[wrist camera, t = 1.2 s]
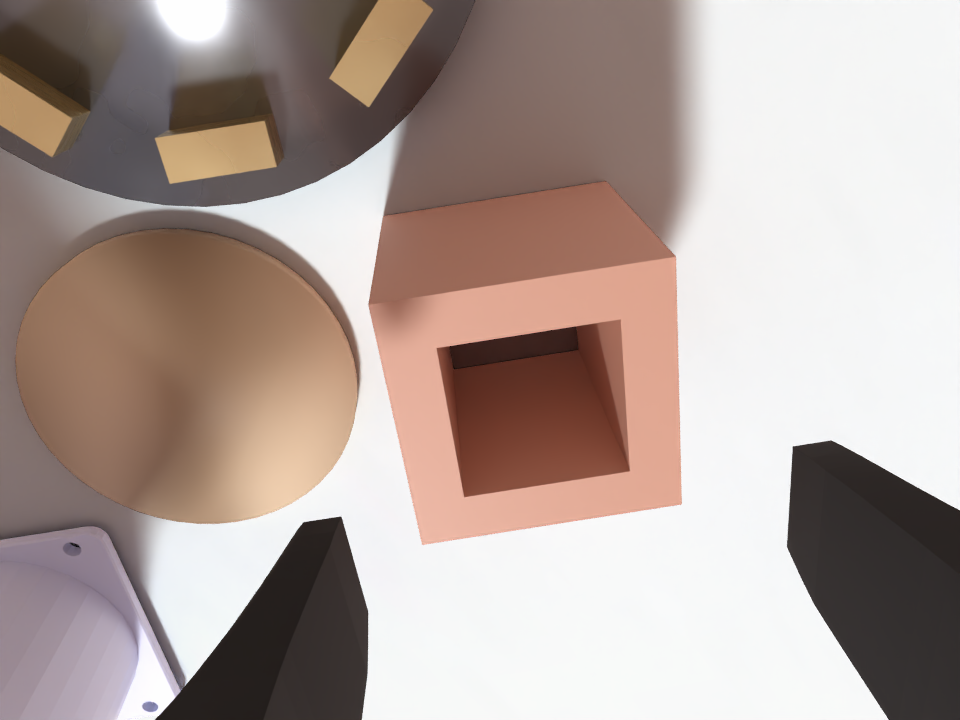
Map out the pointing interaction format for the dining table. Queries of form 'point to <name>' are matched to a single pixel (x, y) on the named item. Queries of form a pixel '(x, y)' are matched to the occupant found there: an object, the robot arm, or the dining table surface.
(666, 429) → the pink square tube
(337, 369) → the cork coaster
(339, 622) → the robot arm
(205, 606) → the dining table surface
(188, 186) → the hub
